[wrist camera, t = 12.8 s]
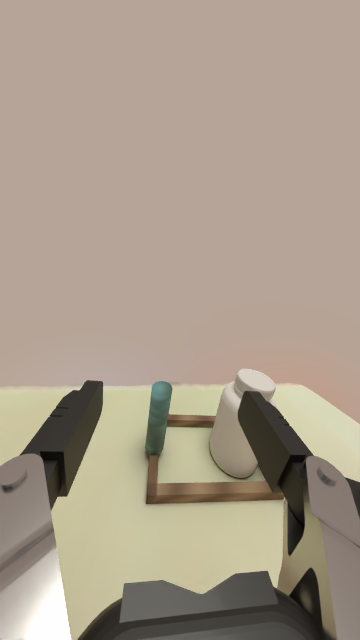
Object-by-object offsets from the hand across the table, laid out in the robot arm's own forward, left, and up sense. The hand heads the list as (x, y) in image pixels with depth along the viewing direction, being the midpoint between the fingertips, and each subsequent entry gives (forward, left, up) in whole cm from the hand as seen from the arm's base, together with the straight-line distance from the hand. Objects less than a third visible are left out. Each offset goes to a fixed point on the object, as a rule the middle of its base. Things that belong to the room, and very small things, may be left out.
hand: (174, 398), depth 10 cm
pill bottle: (+14, +12, -22) cm, 28 cm away
